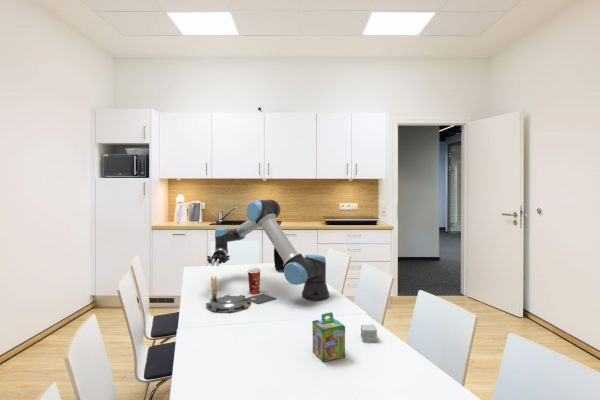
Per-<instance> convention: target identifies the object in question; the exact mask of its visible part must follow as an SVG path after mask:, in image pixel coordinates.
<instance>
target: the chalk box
mask: <svg viewBox="0 0 600 400" xmlns="http://www.w3.org/2000/svg"><path fill="white" fill-rule="evenodd" d="M333 313H334V312H326V313H322V314H321V319H315V320H313V321H311V322H312V323H311V324H312V327H311V328H312V330H311V331H312V333H311V334H312V353H314V354H315V355H316V356H317V357H318V358H319V359H320V360H321V361H322V362H323V363H324V362H328V361H333V360H337V359H342V358H346V326H345V325H344V324H343V323H341V322H340V321H339V320H338V319H335V318H334V314H333ZM326 317H327V318H326Z"/></svg>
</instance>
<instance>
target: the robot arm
mask: <svg viewBox="0 0 600 400" xmlns="http://www.w3.org/2000/svg"><path fill="white" fill-rule="evenodd" d="M280 214H281V205H280V204H279V202H278V201H276V200H274V199H256V200H255V199H254V200H251V201H250V202H249V203H248V204H247V206H246V217H247V220H246V221H244V222H243V223H241V224H240V225H238V226H237V227H236V228H234V229H227V227H217V228H215V230H214V239H215V240H214V242H215V245H214V246H215V247H214V249H215V251H214V252H213V253H212V255H210V256H209V255H207V256H206V260H207V262H208V264H210V265H211V267H214V266H215V264H216V267H219V266H220V264H225V263H226V262H228V261H229V260H230V259H231V258H230V255H228V254H229V249H228V243H230V242H237V241H241V240H244V239H245V237H246V236H247V235H249V234H250V233H252V232H253V231H255V230H257V229H258V228H262V230H263V231H264V233H265V234H266V235H267V237H268V239H269V241H270V242H271V244H272V245H273V248H274V247H275V248H276V250H277V252H278V253H279V255H280V256H281V258H282V259H283V261H284V264H283V266H284V270H283V272H284V273H283V275H284V278H285V279H286V281H287V282H288V283H289V284H291V285H293V286H294V285H295V286H298V285H303V284H304V285H303V289H302V291H301V297H302V298H303V299H304V300H307V301H308V300H309V301H323V300H327V299H329V298H330V291H329V290H328V286H327V282H326V281H327V276H326V275H327V273H326V272H327V271H326V270H327V268H326V267H327V266H326V265H327V262H326V257H325V256H323V255H319V254H305V255H304V256H303V254H302V253H299V252H297V250H296V248H295V247H294V246H293V244H292V243H291V241H290V240H289V238H288V237H287V235H286V234H285V232H284V231H283V229H282V228H281V226H280V224H279V223H278V221H277V220H276V219H277V218H278V217H279V216H280Z"/></svg>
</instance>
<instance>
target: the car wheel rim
mask: <svg viewBox="0 0 600 400" xmlns="http://www.w3.org/2000/svg"><path fill="white" fill-rule="evenodd" d="M273 261H274V267H275V270H276V271H277V272H279V271H281V270H283V271H284V266H283V264H284V261H283V259H282V258H281V256H280V255H279V253H278V252H277V250H276V248H275V247H274V246H273Z"/></svg>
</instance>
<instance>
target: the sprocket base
mask: <svg viewBox="0 0 600 400" xmlns="http://www.w3.org/2000/svg"><path fill="white" fill-rule="evenodd" d="M247 304H249V306H248V307H246V308H243V307H241V308H238V309H234V311H228V310H217V311H213V310H212V308H211V307H206V308H207V310H208V311H210V312H212V313H219V314H231V313H232V314H233V313H238V312H241V311H244V310H247V309H248V308H249V307H250V306H251V302H250V303H247Z"/></svg>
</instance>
